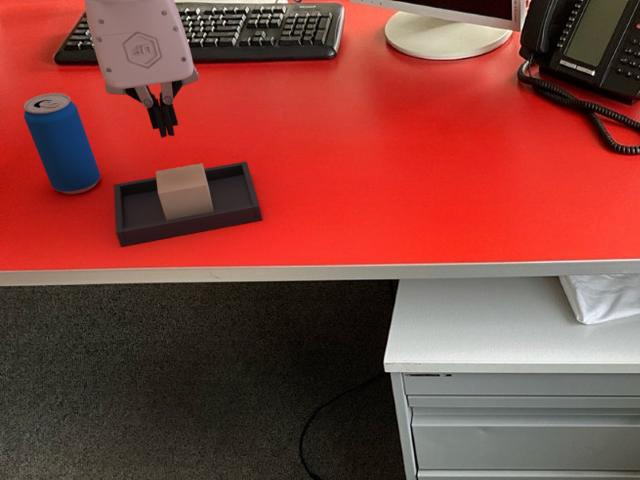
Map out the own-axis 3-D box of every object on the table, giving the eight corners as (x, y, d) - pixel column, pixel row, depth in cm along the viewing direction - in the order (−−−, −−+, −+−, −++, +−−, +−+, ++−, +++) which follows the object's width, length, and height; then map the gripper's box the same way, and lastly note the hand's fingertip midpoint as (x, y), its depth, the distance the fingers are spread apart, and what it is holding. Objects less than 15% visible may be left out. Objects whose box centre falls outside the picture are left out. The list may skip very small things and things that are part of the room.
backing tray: (120, 246, 111) (115, 232, 110) (118, 198, 120) (113, 184, 119) (262, 220, 116) (259, 205, 114) (250, 174, 124) (246, 161, 123)
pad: (166, 220, 115) (157, 193, 112) (163, 197, 119) (155, 171, 116) (213, 211, 116) (206, 184, 113) (209, 189, 120) (202, 162, 118)
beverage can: (75, 170, 126) (45, 88, 118) (112, 177, 124) (84, 95, 116) (42, 192, 122) (8, 109, 114) (80, 200, 120) (48, 116, 112)
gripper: (49, -2, 94) (104, 156, 106) (195, -21, 97) (232, 135, 110) (51, -24, 99) (103, 129, 112) (189, -41, 103) (225, 109, 115)
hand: (167, 131), depth 111 cm, fingers closed
